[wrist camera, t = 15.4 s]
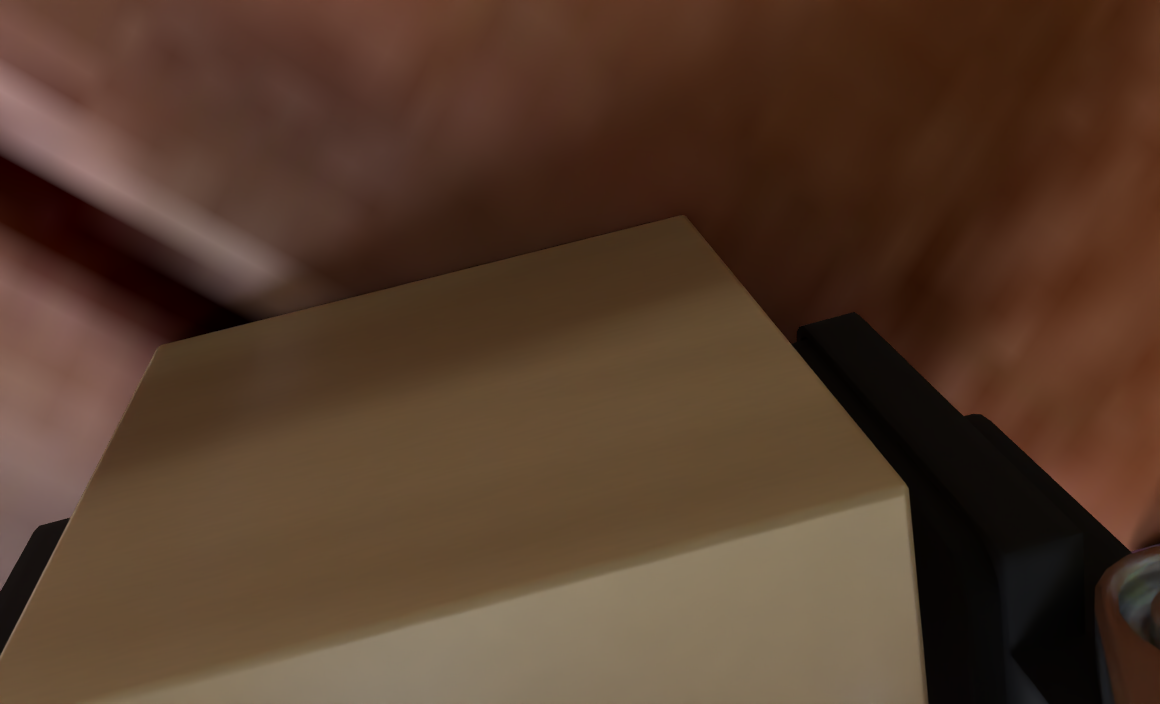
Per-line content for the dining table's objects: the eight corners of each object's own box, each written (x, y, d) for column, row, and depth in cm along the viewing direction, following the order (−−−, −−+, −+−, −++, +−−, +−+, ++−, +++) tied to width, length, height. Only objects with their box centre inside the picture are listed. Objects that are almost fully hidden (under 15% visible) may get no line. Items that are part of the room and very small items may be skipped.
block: (155, 344, 10) (-48, 739, 5) (686, 212, 10) (911, 485, 6) (322, 746, 12) (274, 1273, 8) (757, 628, 12) (965, 1069, 8)
